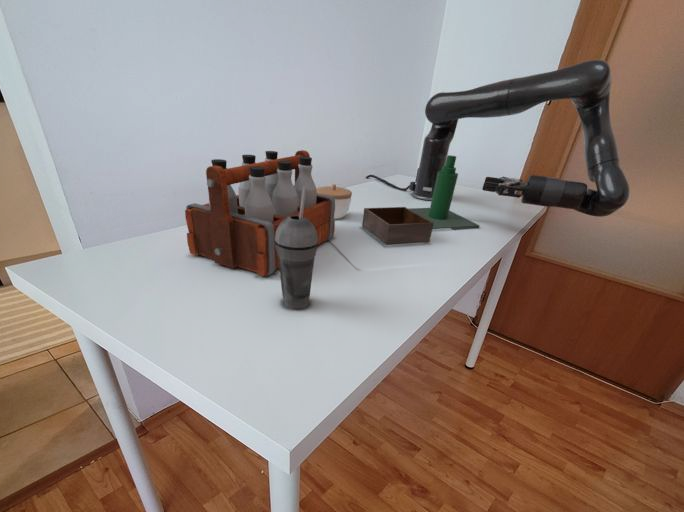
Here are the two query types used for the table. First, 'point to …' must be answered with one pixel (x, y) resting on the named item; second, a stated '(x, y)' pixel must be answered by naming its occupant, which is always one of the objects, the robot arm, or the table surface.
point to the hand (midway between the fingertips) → (484, 183)
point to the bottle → (444, 190)
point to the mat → (446, 220)
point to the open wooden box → (397, 225)
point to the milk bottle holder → (255, 210)
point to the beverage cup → (296, 257)
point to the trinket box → (337, 199)
